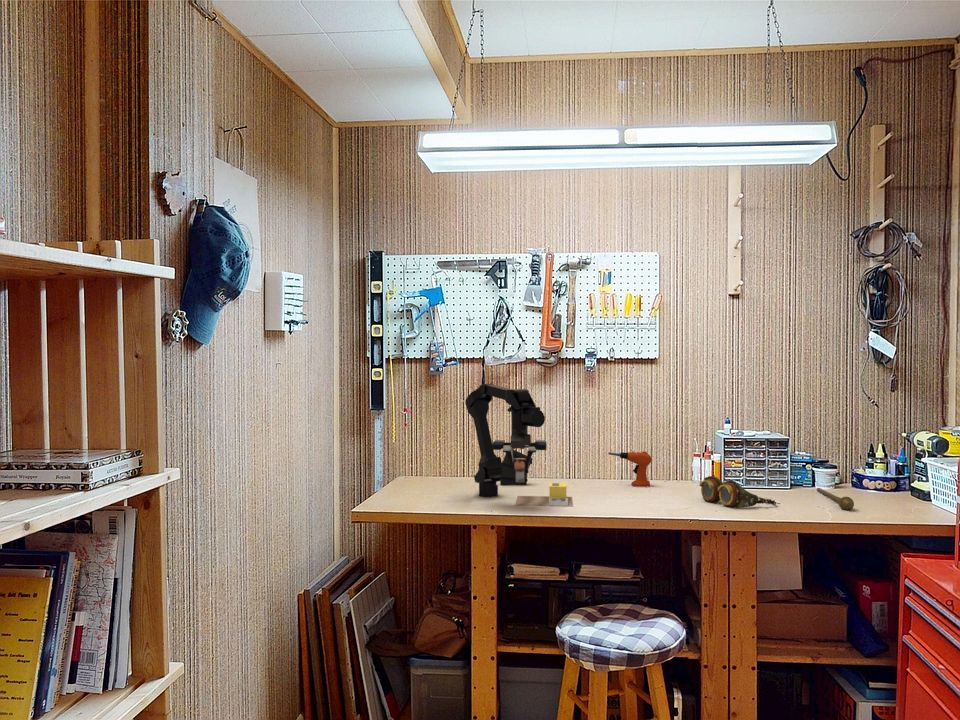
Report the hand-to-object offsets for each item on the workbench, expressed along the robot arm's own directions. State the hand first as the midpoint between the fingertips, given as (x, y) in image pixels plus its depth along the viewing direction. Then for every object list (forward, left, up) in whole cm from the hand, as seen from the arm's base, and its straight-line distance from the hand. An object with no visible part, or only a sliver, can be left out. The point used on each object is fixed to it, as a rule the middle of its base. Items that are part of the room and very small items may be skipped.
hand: (519, 469), depth 245 cm
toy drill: (+42, +44, -14) cm, 62 cm away
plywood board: (+8, +6, -13) cm, 17 cm away
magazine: (-4, +42, -14) cm, 44 cm away
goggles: (+78, +15, -14) cm, 80 cm away
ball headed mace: (+112, +21, -14) cm, 115 cm away
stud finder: (+13, +10, -12) cm, 20 cm away
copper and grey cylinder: (0, 0, -4) cm, 4 cm away
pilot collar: (+13, +2, -12) cm, 18 cm away
